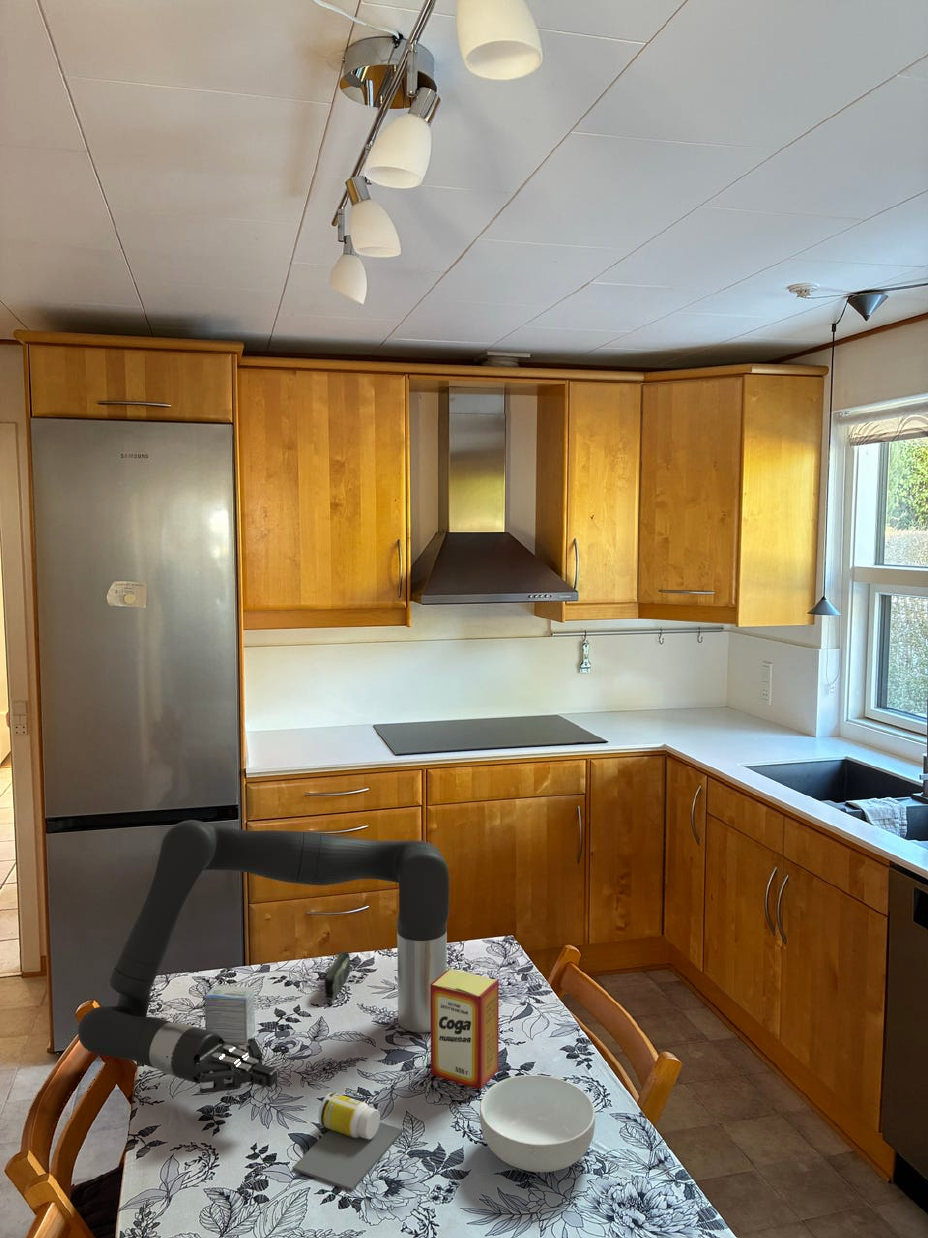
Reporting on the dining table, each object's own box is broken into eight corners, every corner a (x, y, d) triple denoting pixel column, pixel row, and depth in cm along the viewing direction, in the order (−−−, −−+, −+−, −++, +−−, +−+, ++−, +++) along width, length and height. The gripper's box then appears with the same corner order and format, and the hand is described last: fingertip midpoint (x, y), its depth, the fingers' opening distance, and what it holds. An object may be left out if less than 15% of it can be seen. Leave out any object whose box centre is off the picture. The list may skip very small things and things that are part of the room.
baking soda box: (430, 1074, 149) (430, 982, 148) (449, 1055, 155) (449, 966, 154) (480, 1090, 145) (480, 995, 144) (498, 1070, 150) (498, 978, 149)
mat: (292, 1170, 126) (292, 1167, 126) (346, 1114, 138) (346, 1112, 138) (352, 1191, 121) (352, 1188, 121) (402, 1132, 134) (402, 1129, 134)
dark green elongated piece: (337, 949, 187) (320, 980, 172) (351, 949, 187) (336, 981, 172) (337, 972, 187) (320, 1006, 172) (351, 973, 187) (336, 1006, 172)
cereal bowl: (563, 1211, 118) (564, 1160, 117) (457, 1166, 127) (457, 1118, 126) (613, 1140, 132) (613, 1094, 132) (515, 1104, 141) (515, 1061, 141)
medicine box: (255, 1032, 163) (255, 986, 162) (247, 1045, 158) (246, 998, 158) (214, 1030, 164) (213, 984, 163) (204, 1043, 159) (203, 996, 159)
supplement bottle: (319, 1133, 134) (366, 1150, 130) (315, 1108, 133) (362, 1124, 129) (337, 1109, 138) (383, 1125, 134) (333, 1084, 137) (379, 1100, 133)
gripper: (155, 1049, 136) (245, 1077, 129) (214, 1010, 148) (299, 1034, 141) (156, 1096, 137) (246, 1127, 129) (214, 1054, 149) (300, 1080, 141)
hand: (274, 1078), depth 135 cm, fingers closed
